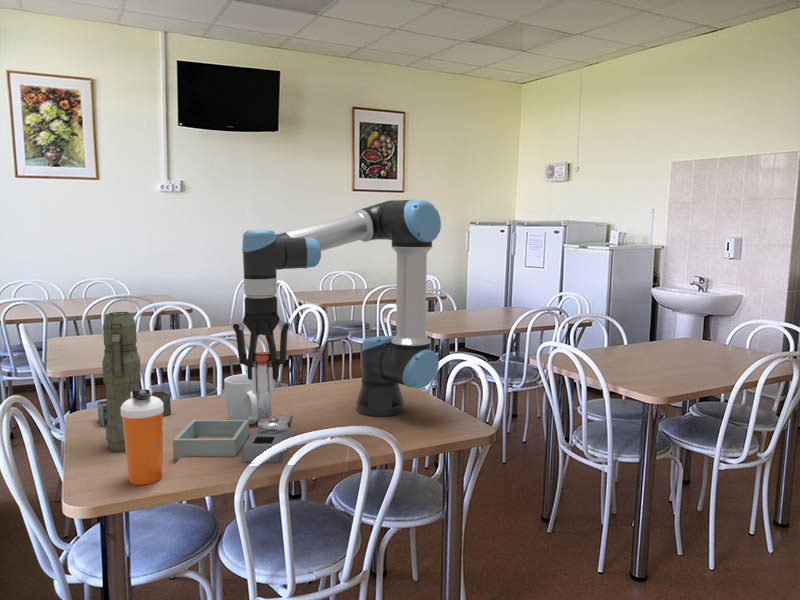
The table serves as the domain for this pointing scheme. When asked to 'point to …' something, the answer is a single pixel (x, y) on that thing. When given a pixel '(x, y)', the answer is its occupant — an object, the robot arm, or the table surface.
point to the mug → (240, 398)
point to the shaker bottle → (143, 436)
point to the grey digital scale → (268, 438)
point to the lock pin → (263, 385)
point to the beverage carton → (161, 395)
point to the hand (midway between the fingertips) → (263, 392)
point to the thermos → (119, 372)
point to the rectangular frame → (192, 446)
